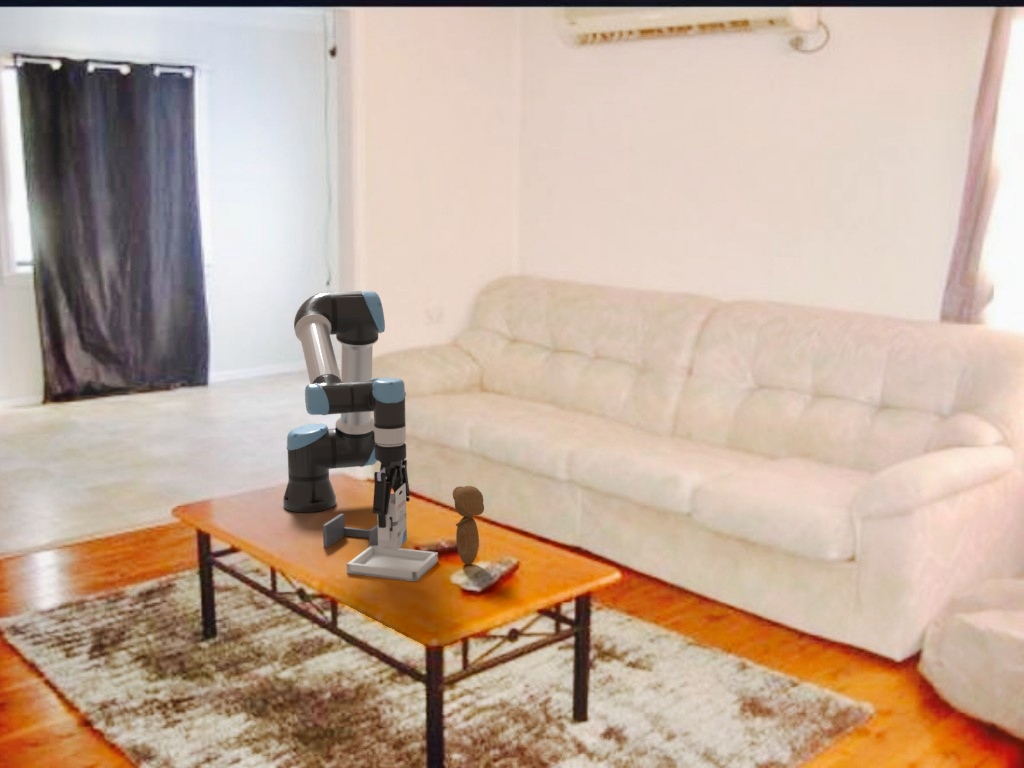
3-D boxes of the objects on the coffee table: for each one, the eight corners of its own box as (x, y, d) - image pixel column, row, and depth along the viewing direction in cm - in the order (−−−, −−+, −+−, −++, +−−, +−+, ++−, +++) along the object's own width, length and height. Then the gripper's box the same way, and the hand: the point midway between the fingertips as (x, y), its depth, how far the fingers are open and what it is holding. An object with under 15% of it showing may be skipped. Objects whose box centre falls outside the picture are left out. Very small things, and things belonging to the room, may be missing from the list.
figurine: (465, 556, 260) (464, 479, 257) (490, 561, 257) (490, 483, 253) (447, 568, 253) (446, 489, 249) (472, 573, 249) (472, 493, 246)
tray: (372, 553, 262) (371, 544, 262) (438, 561, 257) (437, 552, 256) (346, 573, 249) (346, 563, 249) (415, 581, 244) (415, 572, 243)
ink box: (388, 538, 256) (387, 481, 254) (407, 539, 256) (406, 482, 253) (377, 550, 248) (375, 490, 246) (396, 551, 247) (395, 492, 245)
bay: (343, 533, 277) (342, 512, 276) (391, 539, 273) (390, 517, 272) (323, 547, 267) (322, 525, 266) (373, 553, 263) (372, 530, 262)
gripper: (394, 432, 258) (396, 518, 263) (355, 452, 238) (358, 546, 242) (422, 434, 256) (423, 521, 260) (385, 455, 236) (387, 549, 240)
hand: (392, 533), depth 251 cm, fingers closed on ink box, 9 cm apart
